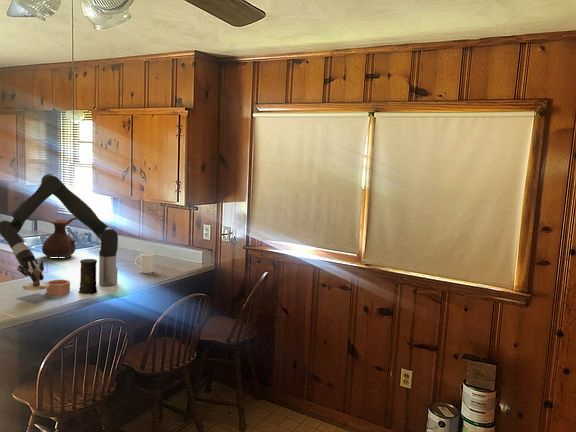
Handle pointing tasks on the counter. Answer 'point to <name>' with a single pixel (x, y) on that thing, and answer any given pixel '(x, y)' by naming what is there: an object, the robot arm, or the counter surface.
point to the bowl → (58, 287)
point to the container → (88, 276)
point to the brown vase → (59, 240)
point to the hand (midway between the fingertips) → (39, 280)
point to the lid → (36, 283)
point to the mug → (145, 262)
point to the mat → (36, 298)
